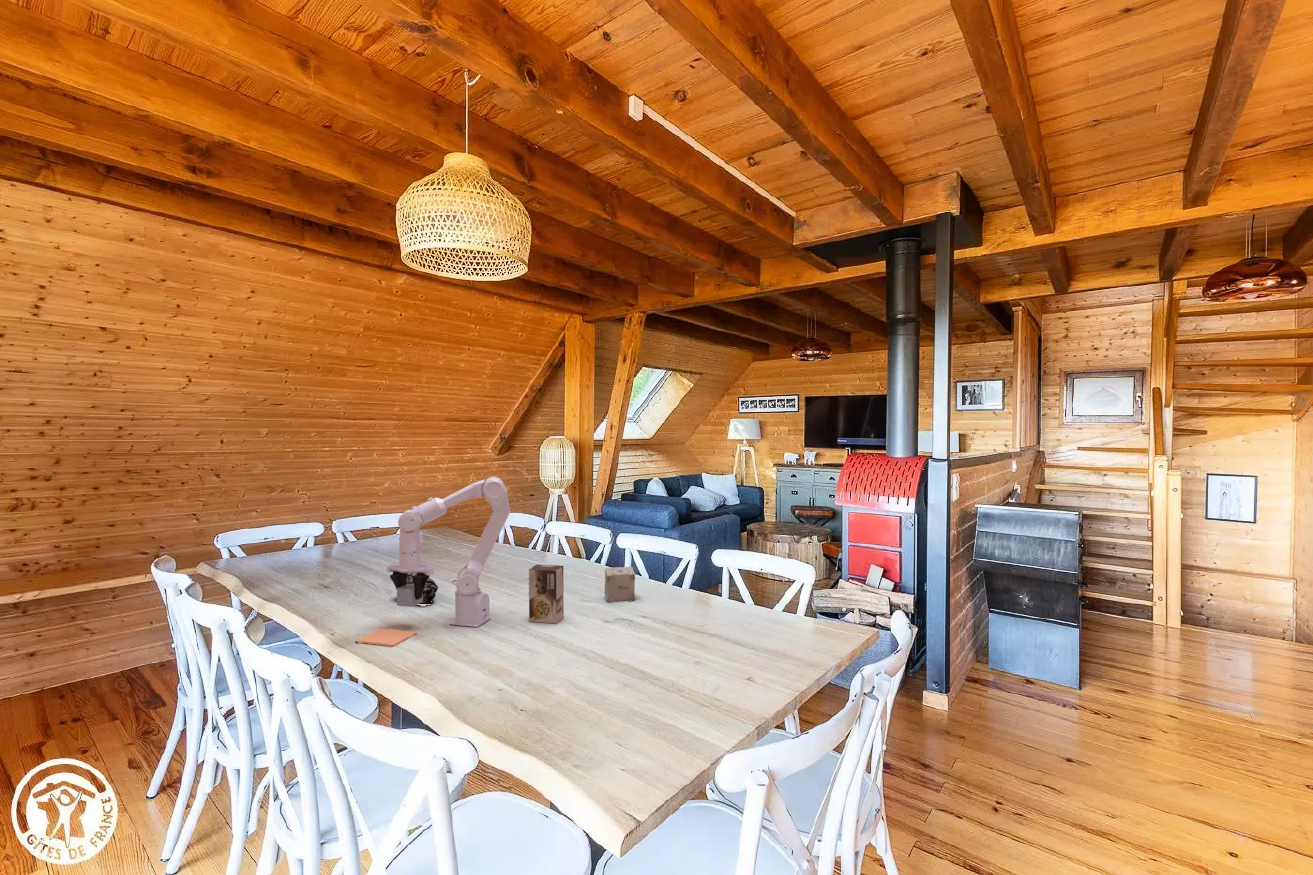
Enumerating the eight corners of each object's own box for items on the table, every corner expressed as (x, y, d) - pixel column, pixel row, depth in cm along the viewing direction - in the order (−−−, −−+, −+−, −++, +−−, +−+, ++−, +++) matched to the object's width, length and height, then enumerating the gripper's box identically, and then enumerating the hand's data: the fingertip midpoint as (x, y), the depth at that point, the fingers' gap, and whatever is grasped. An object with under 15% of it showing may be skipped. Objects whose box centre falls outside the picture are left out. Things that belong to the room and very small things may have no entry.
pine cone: (423, 609, 188) (423, 578, 187) (389, 600, 197) (389, 570, 197) (450, 601, 197) (450, 571, 196) (415, 593, 206) (415, 564, 206)
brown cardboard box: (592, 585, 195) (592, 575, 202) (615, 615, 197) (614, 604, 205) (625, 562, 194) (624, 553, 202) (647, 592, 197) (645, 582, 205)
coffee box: (564, 617, 180) (564, 565, 180) (556, 624, 174) (556, 570, 174) (536, 615, 182) (536, 563, 182) (528, 622, 176) (528, 568, 176)
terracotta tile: (417, 634, 165) (417, 631, 165) (393, 647, 155) (393, 644, 155) (380, 630, 168) (380, 628, 168) (354, 642, 158) (354, 640, 158)
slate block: (422, 601, 173) (422, 585, 173) (411, 606, 168) (411, 589, 168) (408, 600, 174) (408, 583, 174) (396, 605, 169) (396, 588, 169)
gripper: (379, 553, 169) (379, 599, 169) (423, 556, 165) (423, 603, 166) (395, 548, 176) (395, 593, 176) (438, 550, 172) (438, 596, 172)
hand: (410, 597), depth 171 cm, fingers closed on slate block, 5 cm apart
